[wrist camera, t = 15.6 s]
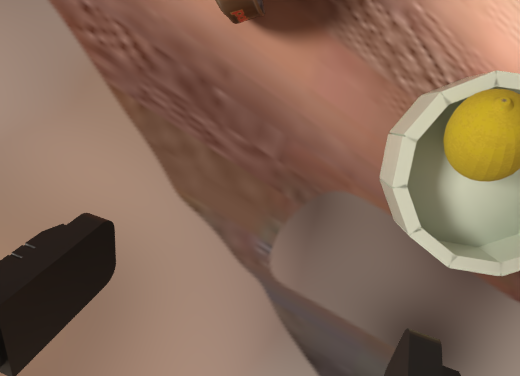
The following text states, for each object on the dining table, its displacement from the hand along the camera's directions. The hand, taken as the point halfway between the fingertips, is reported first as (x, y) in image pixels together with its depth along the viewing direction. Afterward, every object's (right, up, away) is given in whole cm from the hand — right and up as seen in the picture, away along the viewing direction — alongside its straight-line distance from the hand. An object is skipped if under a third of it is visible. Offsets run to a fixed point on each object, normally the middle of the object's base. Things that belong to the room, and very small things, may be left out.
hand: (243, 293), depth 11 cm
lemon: (+17, +4, +21) cm, 27 cm away
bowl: (+17, +4, +23) cm, 29 cm away
